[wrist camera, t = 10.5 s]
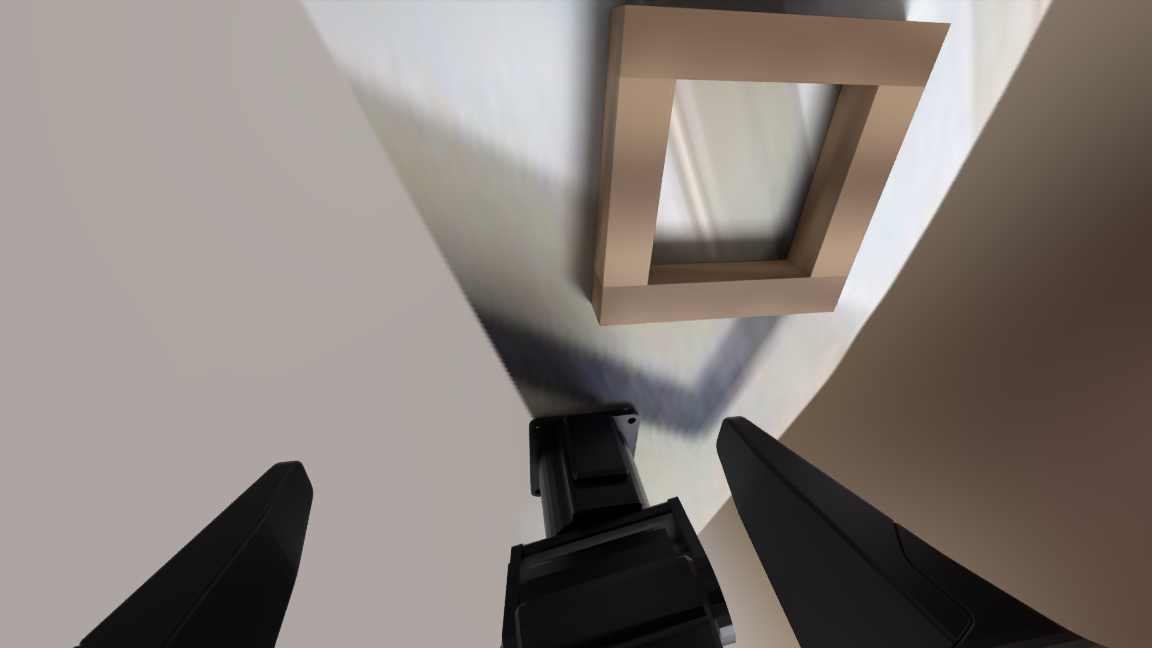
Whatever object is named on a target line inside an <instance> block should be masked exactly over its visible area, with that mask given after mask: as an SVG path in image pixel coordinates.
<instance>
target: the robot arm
mask: <svg viewBox="0 0 1152 648" xmlns="http://www.w3.org/2000/svg"><path fill="white" fill-rule="evenodd" d="M632 417H633V418H632ZM630 418H631V419H630ZM639 423H640V417H639V415H638V412H637V411H635V410H622V411H611V412H601V413H590V414H579V415H569V416H558V417H547V418H537V419H534V420H532V421H531V422H530V424H529V445H530V479H531V480H530V481H531V482H530V483H531V494H532V495H533V496H538V497H540V496H541V499H542V508H543V516H544V524H545V532H546V539H542V540H539V541H536V542H532V543H529V544H526V545H523V544H519V545H516V546H513V547H512V548H511V558H510V563H509V564H508V575H507V585H506V596H505V607H504V619H503V629H502V643H501V647H500V648H723V646H726V645H729V644H732V643H735V642H736V637H735V632H734V628H733V624H732V621H731V618H730V614H729V611H728V608H727V605H726V602H725V600H724V597H723V594H722V591H721V588H720V586H719V583H718V581H717V578H716V576H715V573H714V571H713V569H712V566H711V564H710V562H709V560H708V558H707V555H706V554H705V551H704V549H703V547H702V545H701V543H700V541H699V539H698V537H697V535H696V533H695V531H694V529H693V527H692V525H691V523H690V521H689V519H688V517H687V515H686V513H685V511H684V508H683V506H682V504H681V502H680V500H679V498H678V497H674V498H671V499H668V500H667V502H664V503H661V504H658V505H654V506H651V507H650V505H649V502H648V499H647V496H646V493H645V491H644V488H643V485H642V482H641V479H640V476H639V473H638V470H637V468H636V465H635V462H634V454H635V448H636V442H637V435H638V429H639ZM536 427H539V428H536ZM716 448H717V453H718V456H719V459H720V461H721V464H722V467H723V470H724V473H725V476H726V479H727V482H728V485H729V488H730V490H731V493H732V496H733V499H734V502H735V505H736V508H737V510H738V513H739V515H740V517H741V520H742V522H743V524H744V526H745V529H746V531H747V533H748V535H749V537H750V539H751V541H752V544H753V546H754V548H755V550H756V552H757V554H758V557H759V559H760V561H761V563H762V565H763V567H764V569H765V572H766V574H767V576H768V578H769V580H770V582H771V584H772V587H773V589H774V591H775V593H776V595H777V597H778V599H779V601H780V604H781V606H782V608H783V610H784V612H785V614H786V616H787V619H788V621H789V623H790V625H791V627H792V629H793V632H794V634H795V636H796V638H797V640H798V642H799V644H800V647H801V648H1108V647H1105V646H1102V645H1100V644H1097V643H1095V642H1093V641H1091V640H1088V639H1086V638H1084V637H1082V636H1080V635H1078V634H1076V633H1074V632H1072V631H1070V630H1068V629H1066V628H1065V627H1063V626H1061V625H1059V624H1057V623H1056V622H1054V621H1052V620H1051V619H1049V618H1047V617H1046V616H1044V615H1042V614H1040V613H1039V612H1038V611H1036V610H1034V609H1033V608H1031V607H1029V606H1028V605H1026V604H1024V603H1023V602H1021V601H1019V600H1018V599H1016V598H1014V597H1013V596H1011V595H1009V594H1008V593H1006V592H1005V591H1003V590H1001V589H1000V588H998V587H996V586H994V585H993V584H991V583H990V582H988V581H986V580H985V579H983V578H981V577H980V576H978V575H977V574H975V573H973V572H972V571H970V570H968V569H967V568H965V567H964V566H962V565H960V564H959V563H957V562H956V561H954V560H952V559H951V558H949V557H948V556H946V555H945V554H943V553H941V552H940V551H938V550H937V549H936V548H934V547H933V546H931V545H930V544H928V543H927V542H925V541H924V540H922V539H920V538H919V537H918V536H916V535H914V534H913V533H911V532H910V531H909V530H907V529H906V528H904V527H903V526H901V525H900V524H898V523H896V522H895V523H894V521H893V520H892V519H891V518H890V517H888V516H887V515H885V514H884V513H882V512H881V511H879V510H878V509H876V508H875V507H874V506H872V505H871V504H869V503H868V502H866V501H865V500H863V499H862V498H861V497H859V496H858V495H856V494H855V493H853V492H852V491H850V490H849V489H848V488H846V487H845V486H843V485H842V484H840V483H839V482H837V481H836V480H834V479H833V478H832V477H830V476H829V475H827V474H826V473H824V472H823V471H821V470H820V469H818V468H817V467H816V466H814V465H813V464H811V463H810V462H808V461H807V460H805V459H804V458H802V457H801V456H799V455H798V454H797V453H795V452H794V451H792V450H791V449H789V448H788V447H787V446H785V445H784V444H782V443H781V442H779V441H778V440H776V439H775V438H773V437H772V436H771V435H769V434H768V433H766V432H765V431H763V430H762V429H760V428H759V427H757V426H756V425H755V424H753V423H752V422H750V421H749V420H747V419H746V418H744V417H741V416H736V417H727V418H725V419H724V420H723V422H722V425H721V429H720V432H719V435H718V439H717V443H716ZM312 499H313V488H312V485H311V482H310V480H309V478H308V476H307V473H306V471H305V469H304V466H303V465H302V463H301V462H299V461H289V462H280V463H277V464H275V465H274V466H272V467H271V468H270V469H269V470H268V471H267V472H266V473H264V474H263V475H262V476H261V477H260V478H259V479H258V480H257V481H256V482H255V483H253V484H252V485H251V486H250V487H249V488H248V489H247V490H246V491H245V492H244V493H243V494H241V495H240V496H239V497H238V498H237V499H236V500H235V501H234V502H233V503H231V504H230V505H229V506H228V507H227V508H226V509H225V510H224V511H223V512H222V513H221V514H219V515H218V516H217V517H216V518H215V519H214V520H213V521H212V522H211V523H210V524H208V525H207V526H206V527H205V528H204V529H203V530H202V531H201V532H200V533H199V534H197V535H196V536H195V537H194V538H193V539H192V540H191V541H190V542H189V543H188V544H187V545H186V546H184V547H183V548H182V549H181V550H180V551H179V552H178V553H177V554H176V555H175V556H173V557H172V558H171V559H170V560H169V561H168V562H167V563H166V564H165V565H164V566H162V567H161V568H160V569H159V570H158V571H157V572H156V573H155V574H154V575H153V576H151V577H150V578H149V579H148V580H147V581H146V582H145V583H144V584H143V585H142V586H141V587H139V588H138V589H137V590H136V591H135V592H134V593H133V594H132V595H131V596H130V597H128V598H127V599H126V600H125V601H124V602H123V603H122V604H121V605H120V606H119V607H118V608H116V609H115V610H114V611H113V612H112V613H111V614H110V615H109V616H108V617H107V618H105V619H104V620H103V621H102V622H101V623H100V624H99V625H98V626H97V627H96V628H95V629H93V630H92V631H91V632H90V633H89V634H88V635H87V636H86V637H85V638H84V639H82V640H81V642H80V644H79V646H76V647H74V648H274V647H275V644H276V641H277V638H278V635H279V632H280V628H281V625H282V622H283V619H284V616H285V613H286V610H287V606H288V603H289V600H290V597H291V594H292V591H293V587H294V584H295V581H296V577H297V573H298V569H299V564H300V560H301V554H302V550H303V545H304V540H305V535H306V530H307V525H308V520H309V514H310V509H311V505H312Z"/></svg>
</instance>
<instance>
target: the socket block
mask: <svg viewBox="0 0 1152 648" xmlns="http://www.w3.org/2000/svg"><path fill="white" fill-rule="evenodd" d="M950 25H951V24H950V23H933V22H916V21H898V20H881V19H864V18H847V17H829V16H812V15H795V14H778V13H761V12H743V11H726V10H709V9H692V8H674V7H657V6H640V5H622V6H617V7H612V8H611V12H610V27H609V43H608V58H607V73H606V89H605V104H604V119H603V135H602V150H601V165H600V180H599V196H598V211H597V226H596V242H595V257H594V272H593V288H592V303H591V304H592V307H593V309H594V312H595V314H596V317H597V320H598V322H599V325H600V326H606V325H622V324H638V323H655V322H671V321H687V320H703V319H720V318H736V317H752V316H769V315H785V314H801V313H818V312H834V309H835V307H836V304H837V302H838V299H839V297H840V294H841V292H842V289H843V287H844V285H845V282H846V280H847V277H848V275H849V272H850V270H851V267H852V265H853V263H854V260H855V258H856V255H857V253H858V250H859V248H860V245H861V243H862V240H863V238H864V236H865V233H866V231H867V228H868V226H869V223H870V221H871V218H872V216H873V213H874V211H875V209H876V206H877V204H878V201H879V199H880V196H881V194H882V191H883V189H884V187H885V184H886V182H887V179H888V177H889V174H890V172H891V169H892V167H893V164H894V162H895V160H896V157H897V155H898V152H899V150H900V147H901V145H902V142H903V140H904V138H905V135H906V133H907V130H908V128H909V125H910V123H911V120H912V118H913V115H914V113H915V111H916V108H917V106H918V103H919V101H920V98H921V96H922V93H923V91H924V89H925V86H926V84H927V81H928V79H929V76H930V74H931V71H932V69H933V66H934V64H935V62H936V59H937V57H938V54H939V52H940V49H941V47H942V44H943V42H944V40H945V37H946V35H947V32H948V30H949V27H950ZM676 79H689V80H721V81H754V82H786V83H818V84H843V85H842V88H841V91H840V94H839V97H838V100H837V103H836V107H835V110H834V113H833V116H832V119H831V122H830V125H829V129H828V132H827V135H826V138H825V141H824V144H823V147H822V150H821V154H820V157H819V160H818V163H817V166H816V169H815V172H814V176H813V179H812V182H811V185H810V188H809V191H808V194H807V198H806V201H805V204H804V207H803V210H802V213H801V216H800V220H799V223H798V226H797V229H796V232H795V235H794V238H793V241H792V245H791V248H790V251H789V254H788V257H787V260H765V261H740V262H714V263H689V264H664V265H650V262H651V255H652V248H653V240H654V233H655V226H656V219H657V212H658V205H659V197H660V190H661V183H662V176H663V169H664V162H665V155H666V147H667V140H668V133H669V126H670V119H671V112H672V104H673V97H674V90H675V83H676Z"/></svg>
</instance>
